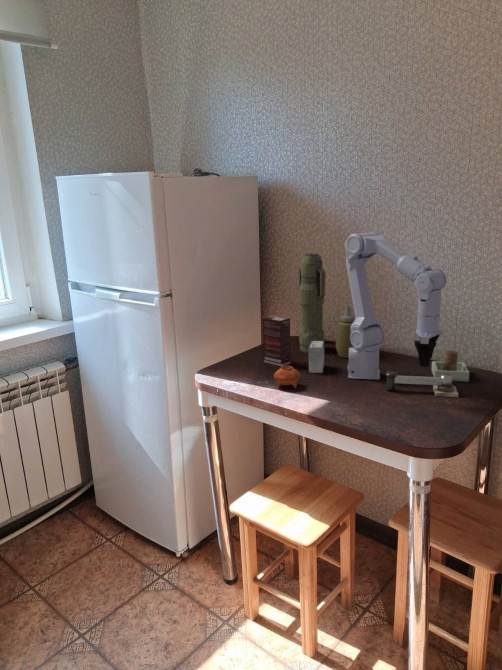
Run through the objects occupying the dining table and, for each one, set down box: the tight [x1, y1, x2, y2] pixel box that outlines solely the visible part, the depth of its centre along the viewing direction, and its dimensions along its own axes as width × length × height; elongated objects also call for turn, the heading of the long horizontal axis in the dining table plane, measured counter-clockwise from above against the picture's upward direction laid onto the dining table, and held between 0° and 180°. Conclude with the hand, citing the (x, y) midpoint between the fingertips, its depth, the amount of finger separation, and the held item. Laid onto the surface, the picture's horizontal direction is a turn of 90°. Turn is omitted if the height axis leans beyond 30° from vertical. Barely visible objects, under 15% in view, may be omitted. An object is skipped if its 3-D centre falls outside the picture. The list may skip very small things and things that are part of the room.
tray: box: [431, 360, 470, 383], centre depth 165 cm, size 10×10×3 cm
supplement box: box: [262, 315, 292, 367], centre depth 181 cm, size 9×5×16 cm, turn 46°
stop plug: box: [442, 349, 459, 371], centre depth 164 cm, size 4×4×7 cm
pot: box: [273, 365, 301, 390], centre depth 160 cm, size 8×8×7 cm
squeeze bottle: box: [335, 304, 355, 359], centre depth 186 cm, size 8×8×18 cm
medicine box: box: [308, 340, 325, 374], centre depth 174 cm, size 8×4×9 cm, turn 168°
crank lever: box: [385, 371, 453, 391], centre depth 152 cm, size 18×3×5 cm, turn 77°
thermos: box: [298, 253, 326, 354], centre depth 192 cm, size 9×12×35 cm
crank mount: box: [398, 374, 459, 398], centre depth 157 cm, size 16×16×2 cm
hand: (425, 362), depth 148 cm, fingers open, 7 cm apart
